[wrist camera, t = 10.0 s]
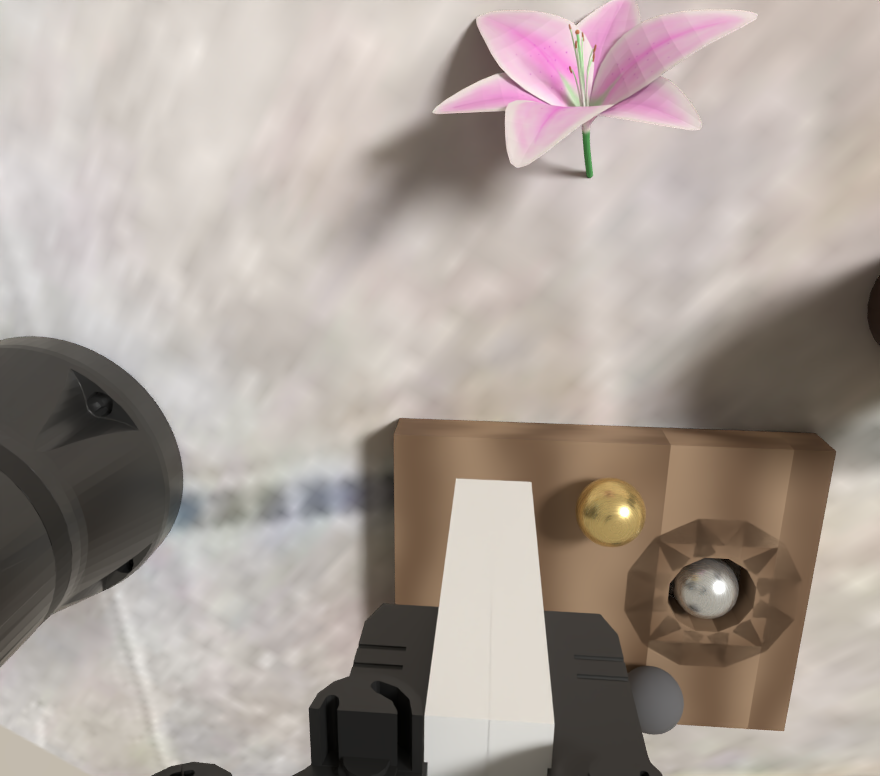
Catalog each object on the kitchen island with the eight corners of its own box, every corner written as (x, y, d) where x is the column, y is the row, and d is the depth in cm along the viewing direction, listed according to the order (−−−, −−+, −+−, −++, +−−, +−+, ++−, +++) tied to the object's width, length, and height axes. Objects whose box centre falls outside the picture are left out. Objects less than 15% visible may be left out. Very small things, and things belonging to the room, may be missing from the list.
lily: (752, 57, 35) (790, -108, 26) (677, 290, 34) (689, 204, 25) (513, 23, 39) (471, -133, 29) (439, 232, 38) (372, 138, 28)
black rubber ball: (611, 701, 42) (620, 747, 39) (616, 650, 41) (626, 693, 38) (672, 704, 42) (686, 751, 39) (678, 654, 41) (694, 697, 38)
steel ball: (680, 593, 43) (661, 618, 40) (684, 538, 42) (666, 561, 39) (741, 610, 41) (727, 638, 38) (747, 553, 40) (733, 578, 38)
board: (401, 677, 46) (396, 706, 43) (399, 418, 41) (393, 434, 38) (768, 699, 44) (783, 731, 42) (815, 433, 39) (836, 451, 37)
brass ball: (570, 525, 39) (576, 558, 36) (574, 465, 38) (581, 494, 35) (636, 528, 39) (648, 562, 35) (642, 467, 38) (655, 497, 34)
